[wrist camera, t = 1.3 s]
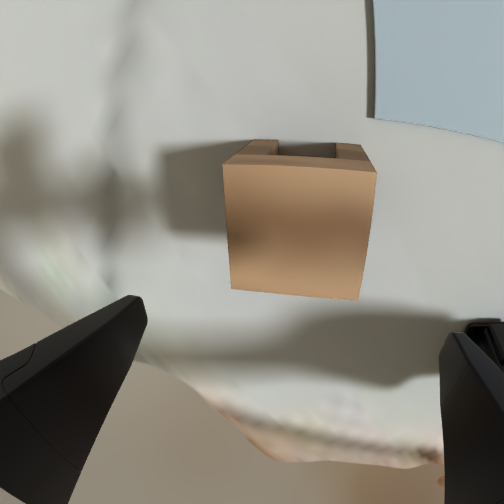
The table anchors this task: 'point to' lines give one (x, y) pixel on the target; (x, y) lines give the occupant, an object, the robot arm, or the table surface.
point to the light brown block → (298, 220)
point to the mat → (441, 64)
